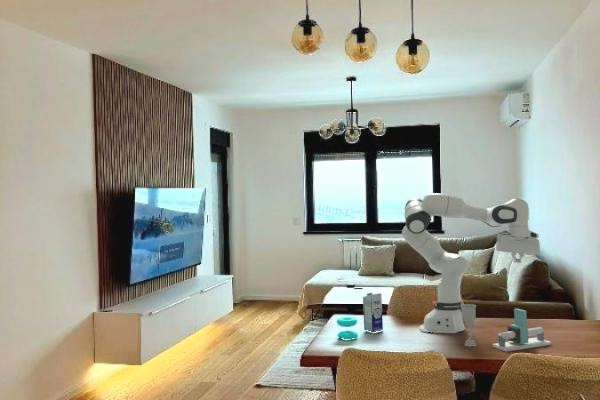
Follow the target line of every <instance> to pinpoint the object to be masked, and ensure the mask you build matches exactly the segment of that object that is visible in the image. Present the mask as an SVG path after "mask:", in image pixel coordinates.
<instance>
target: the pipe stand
mask: <svg viewBox="0 0 600 400" xmlns="http://www.w3.org/2000/svg"><path fill="white" fill-rule="evenodd" d="M544 331H545V330H544V328H543V327H541V326H537V327H531V328H528V342H529V343H524V344H520V343H516V342H513V341H510V340H508V339H510V338H516V334H515V331H509V332H508V331H504V332H498V335H497V336H498V342H497V343H496V342H495V343H492V348H495V349H498V350H501V351H504V352H513V351H519V350H526V349H531V348H537V347H544V346H549V345H550V346H551V345H552V342H551V341H549V340H546V339H545V334H544V333H545V332H544ZM529 336H536V337H531V338H529ZM506 340H508V341H506Z"/></svg>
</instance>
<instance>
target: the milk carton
mask: <svg viewBox="0 0 600 400" xmlns="http://www.w3.org/2000/svg"><path fill="white" fill-rule="evenodd" d="M382 304H383V302H382V292H380V293H375V294H373V292H369V293H366V296H363V297H362V305H363V310H362V311H363V327H364V328H363V330H368V331H371V332H376V331H381V330H383V331H384V326H383V323H384V322H383V305H382Z"/></svg>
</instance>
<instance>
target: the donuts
mask: <svg viewBox="0 0 600 400" xmlns="http://www.w3.org/2000/svg"><path fill="white" fill-rule="evenodd" d="M357 323H358V319H357V318H356V317H353V316H342V317H338V318H337V319H336V324H337V325H338V326H340V327H342V328H344V327H345V328H350V327H353V326H356V325H357ZM337 336H338V337H339V338H344V339H352V338H356V339H358V337H359V336H358V332H357V331H354V330H352V329H351V330H349V329H348V330H345V329H344V330H341V331H339V332H338V333H337ZM338 337H337V338H338Z"/></svg>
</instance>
